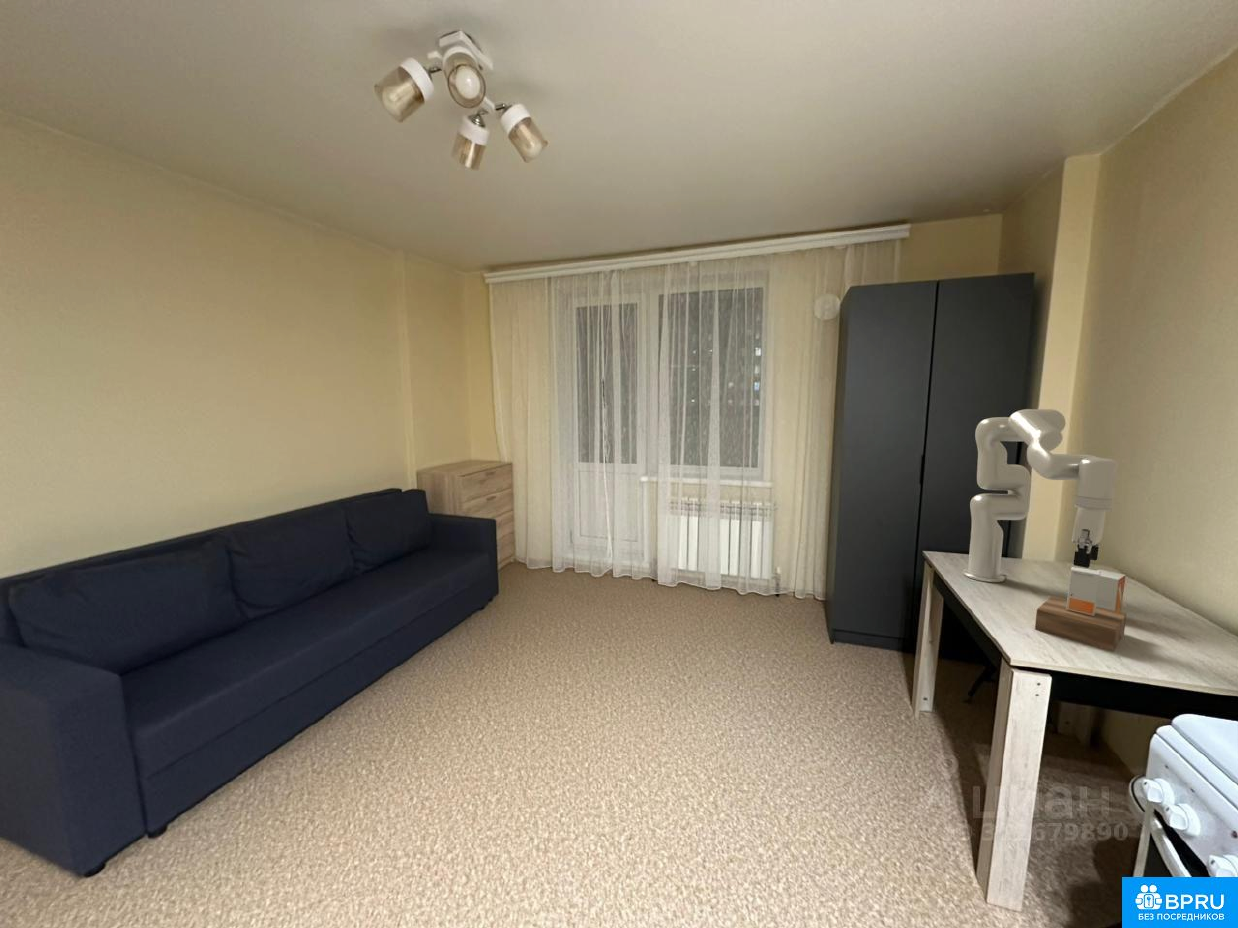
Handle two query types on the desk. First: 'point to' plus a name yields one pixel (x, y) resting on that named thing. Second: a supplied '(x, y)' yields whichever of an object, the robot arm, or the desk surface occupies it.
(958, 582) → the desk surface
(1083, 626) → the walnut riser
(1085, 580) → the skincare box
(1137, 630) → the desk surface
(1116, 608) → the small box
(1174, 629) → the desk surface
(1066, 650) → the desk surface
